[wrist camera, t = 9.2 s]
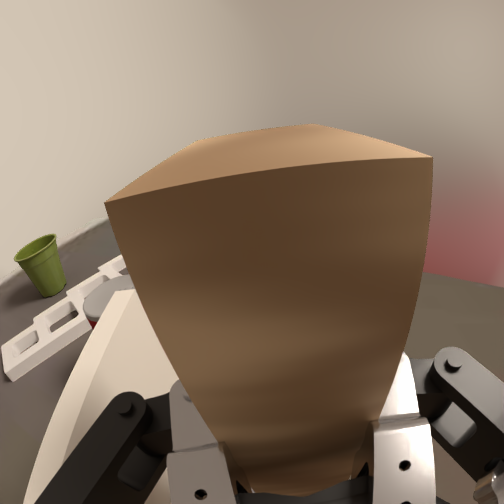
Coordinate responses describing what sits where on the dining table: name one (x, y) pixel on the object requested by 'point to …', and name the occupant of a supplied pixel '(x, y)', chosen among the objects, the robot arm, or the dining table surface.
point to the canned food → (105, 297)
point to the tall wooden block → (281, 287)
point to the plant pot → (43, 265)
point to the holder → (41, 327)
